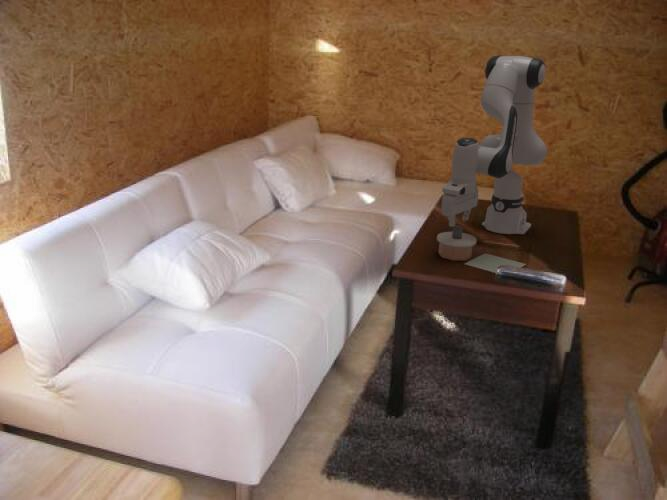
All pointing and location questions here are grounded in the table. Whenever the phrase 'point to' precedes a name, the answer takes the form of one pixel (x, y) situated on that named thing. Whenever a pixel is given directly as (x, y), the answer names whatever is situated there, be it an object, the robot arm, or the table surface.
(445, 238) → the lid
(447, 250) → the bowl
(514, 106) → the robot arm
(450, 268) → the table surface
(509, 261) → the mat
